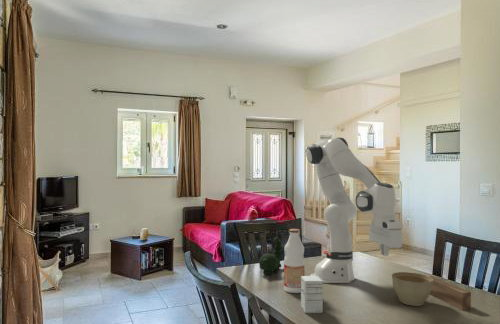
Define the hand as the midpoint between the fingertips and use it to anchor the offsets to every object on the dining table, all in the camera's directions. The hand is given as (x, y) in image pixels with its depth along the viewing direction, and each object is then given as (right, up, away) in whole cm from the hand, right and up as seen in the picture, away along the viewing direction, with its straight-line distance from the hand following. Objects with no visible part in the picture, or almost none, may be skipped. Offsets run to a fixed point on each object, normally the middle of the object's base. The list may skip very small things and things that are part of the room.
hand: (384, 255), depth 167 cm
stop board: (+29, -21, +6) cm, 36 cm away
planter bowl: (+12, -21, +3) cm, 25 cm away
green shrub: (-45, -21, +49) cm, 69 cm away
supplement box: (-32, -21, -7) cm, 38 cm away
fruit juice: (-36, -21, +18) cm, 45 cm away
